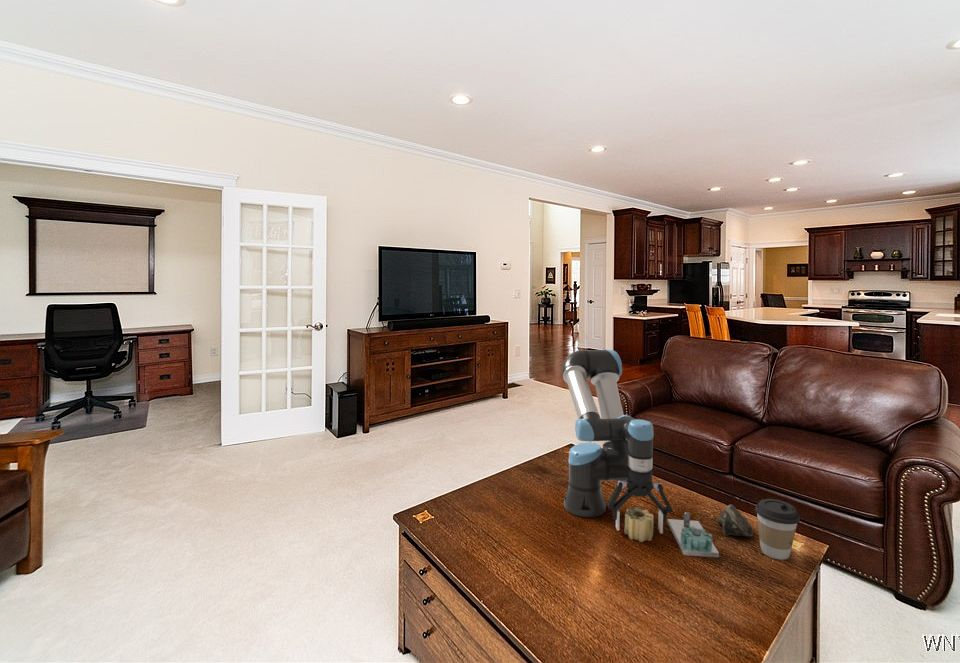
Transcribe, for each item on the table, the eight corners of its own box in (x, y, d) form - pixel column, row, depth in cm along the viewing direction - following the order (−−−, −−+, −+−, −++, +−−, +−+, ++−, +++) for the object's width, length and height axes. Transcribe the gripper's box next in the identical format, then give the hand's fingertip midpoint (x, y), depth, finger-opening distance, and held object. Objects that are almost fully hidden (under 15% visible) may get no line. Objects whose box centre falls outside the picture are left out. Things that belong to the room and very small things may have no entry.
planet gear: (619, 532, 145) (619, 512, 144) (635, 524, 150) (635, 504, 149) (642, 545, 137) (642, 524, 137) (658, 535, 142) (658, 515, 142)
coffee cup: (799, 569, 125) (802, 519, 123) (753, 556, 131) (755, 509, 129) (796, 548, 134) (798, 502, 133) (752, 537, 140) (755, 493, 139)
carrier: (683, 555, 132) (684, 535, 131) (667, 523, 150) (667, 505, 149) (718, 557, 131) (719, 537, 130) (698, 525, 148) (698, 507, 148)
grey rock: (761, 541, 137) (746, 514, 137) (732, 551, 140) (718, 524, 139) (747, 522, 148) (734, 496, 148) (721, 531, 150) (707, 506, 150)
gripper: (602, 471, 139) (601, 533, 141) (684, 474, 136) (682, 538, 138) (599, 461, 147) (598, 521, 149) (677, 465, 143) (675, 525, 145)
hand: (638, 529), depth 143 cm, fingers open, 13 cm apart
